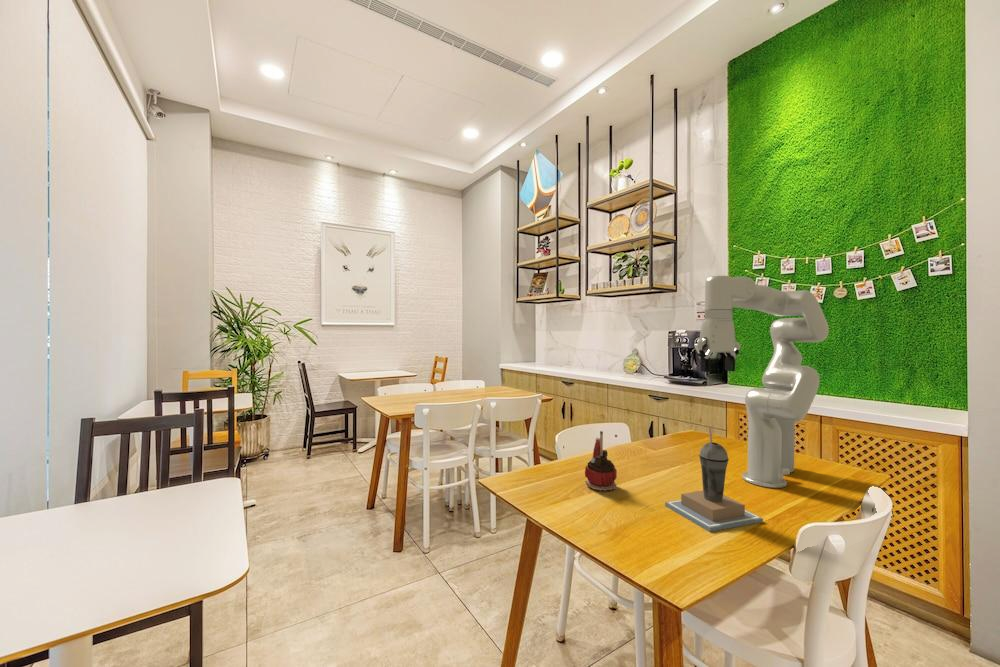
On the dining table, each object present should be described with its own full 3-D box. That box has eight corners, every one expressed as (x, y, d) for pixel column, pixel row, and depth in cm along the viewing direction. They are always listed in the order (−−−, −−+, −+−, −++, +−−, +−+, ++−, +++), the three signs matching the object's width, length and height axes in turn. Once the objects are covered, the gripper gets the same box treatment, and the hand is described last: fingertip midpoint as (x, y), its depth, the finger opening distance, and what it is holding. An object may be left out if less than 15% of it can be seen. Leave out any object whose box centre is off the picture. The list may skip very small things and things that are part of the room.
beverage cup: (733, 504, 108) (734, 430, 108) (706, 504, 108) (707, 430, 108) (719, 493, 116) (720, 424, 115) (693, 493, 116) (694, 423, 116)
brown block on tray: (713, 498, 122) (713, 485, 122) (762, 522, 107) (763, 507, 107) (665, 505, 117) (665, 491, 117) (709, 531, 101) (709, 516, 101)
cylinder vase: (756, 470, 147) (757, 402, 147) (751, 461, 159) (752, 397, 158) (797, 476, 142) (798, 405, 142) (789, 465, 153) (790, 400, 153)
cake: (611, 495, 124) (611, 436, 124) (581, 489, 128) (582, 432, 128) (619, 484, 133) (619, 429, 133) (591, 478, 138) (592, 426, 137)
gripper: (729, 317, 131) (728, 369, 131) (686, 315, 126) (686, 370, 126) (750, 316, 124) (749, 371, 124) (706, 315, 119) (705, 373, 119)
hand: (717, 371), depth 125 cm, fingers open, 9 cm apart
